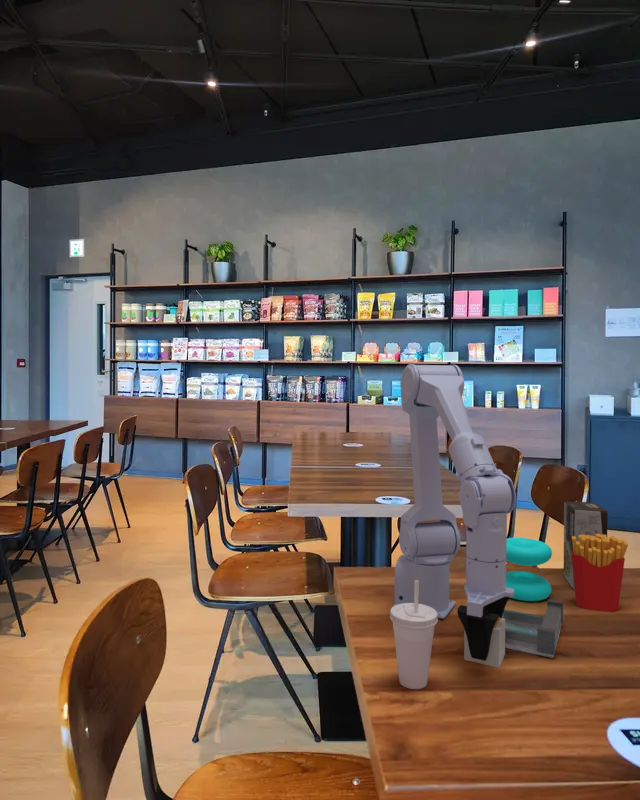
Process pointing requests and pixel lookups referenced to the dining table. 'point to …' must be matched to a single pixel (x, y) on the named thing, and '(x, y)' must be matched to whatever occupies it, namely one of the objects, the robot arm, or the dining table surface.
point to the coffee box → (581, 528)
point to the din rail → (534, 630)
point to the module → (491, 646)
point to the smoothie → (413, 640)
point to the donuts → (522, 581)
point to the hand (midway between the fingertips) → (484, 647)
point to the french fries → (598, 571)
